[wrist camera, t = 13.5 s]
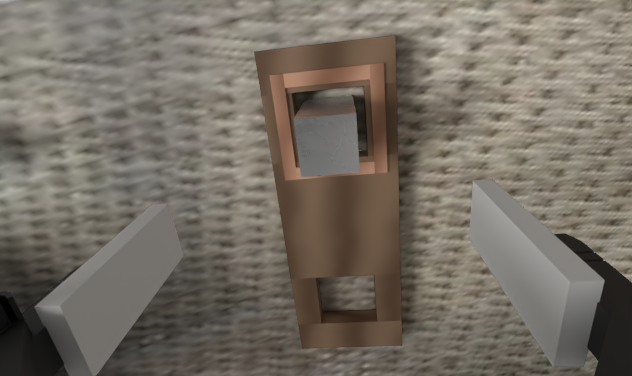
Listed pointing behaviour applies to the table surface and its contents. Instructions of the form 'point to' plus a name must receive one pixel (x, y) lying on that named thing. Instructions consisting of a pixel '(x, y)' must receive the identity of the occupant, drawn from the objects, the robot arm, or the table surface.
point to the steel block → (327, 136)
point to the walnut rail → (338, 190)
